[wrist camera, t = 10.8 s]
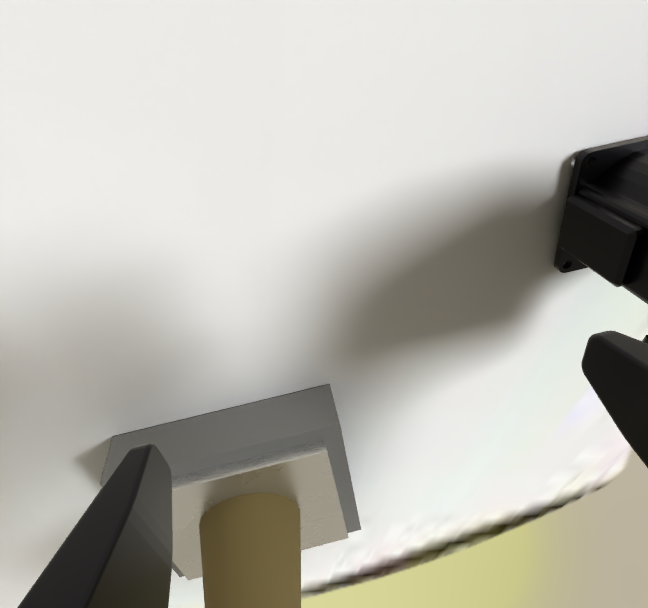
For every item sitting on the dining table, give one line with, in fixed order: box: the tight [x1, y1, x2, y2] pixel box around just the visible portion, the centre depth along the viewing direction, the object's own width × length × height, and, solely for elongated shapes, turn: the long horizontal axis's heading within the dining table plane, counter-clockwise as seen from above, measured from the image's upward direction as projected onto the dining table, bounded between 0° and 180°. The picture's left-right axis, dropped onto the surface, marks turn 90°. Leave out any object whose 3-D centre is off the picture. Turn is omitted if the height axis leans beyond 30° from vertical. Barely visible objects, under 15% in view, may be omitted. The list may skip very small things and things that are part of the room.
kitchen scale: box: [100, 384, 361, 580], centre depth 27 cm, size 13×12×4 cm
